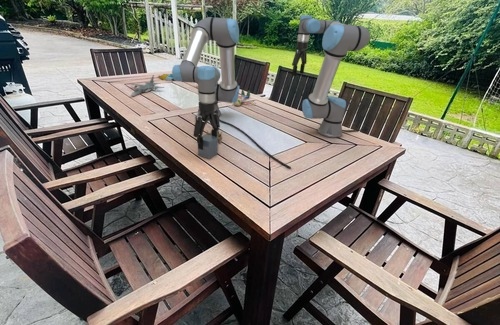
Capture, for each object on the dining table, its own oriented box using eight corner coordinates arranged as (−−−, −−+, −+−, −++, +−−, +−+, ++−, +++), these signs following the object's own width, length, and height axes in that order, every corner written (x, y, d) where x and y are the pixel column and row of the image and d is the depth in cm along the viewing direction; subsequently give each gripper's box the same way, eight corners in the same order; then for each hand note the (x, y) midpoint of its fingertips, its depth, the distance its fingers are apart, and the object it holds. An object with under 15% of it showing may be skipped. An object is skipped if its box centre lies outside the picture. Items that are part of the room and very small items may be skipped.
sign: (185, 79, 272) (155, 78, 269) (185, 81, 272) (155, 79, 270) (188, 74, 294) (161, 73, 291) (188, 76, 294) (161, 74, 292)
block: (206, 150, 138) (206, 133, 134) (217, 154, 135) (217, 137, 131) (198, 154, 133) (197, 137, 129) (209, 159, 130) (208, 141, 126)
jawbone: (224, 125, 157) (223, 115, 148) (222, 147, 150) (221, 138, 141) (208, 125, 157) (206, 115, 148) (206, 147, 150) (204, 138, 141)
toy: (261, 91, 228) (254, 99, 202) (261, 99, 231) (253, 108, 205) (231, 87, 233) (220, 95, 207) (230, 95, 236) (219, 104, 210)
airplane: (124, 86, 238) (122, 75, 233) (160, 84, 251) (158, 74, 246) (129, 99, 209) (126, 86, 204) (168, 96, 223) (167, 84, 217)
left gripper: (215, 95, 131) (215, 136, 142) (183, 105, 114) (186, 150, 125) (227, 98, 128) (226, 140, 138) (196, 109, 111) (198, 155, 121)
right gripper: (304, 40, 185) (299, 71, 195) (289, 41, 166) (285, 76, 176) (314, 41, 182) (309, 73, 192) (300, 42, 163) (295, 77, 173)
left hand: (207, 145), depth 132 cm, fingers open, 10 cm apart
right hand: (297, 74), depth 184 cm, fingers open, 13 cm apart
